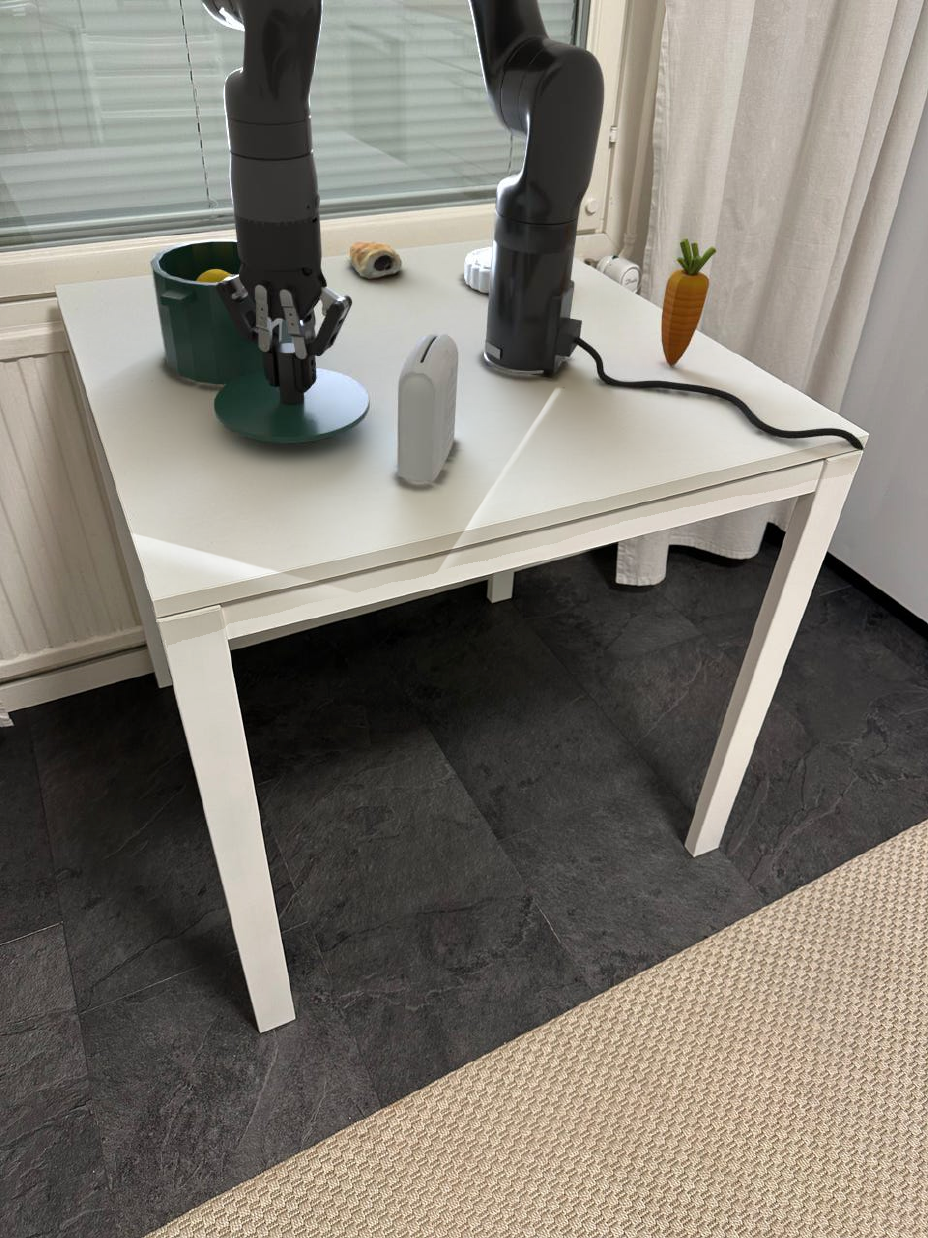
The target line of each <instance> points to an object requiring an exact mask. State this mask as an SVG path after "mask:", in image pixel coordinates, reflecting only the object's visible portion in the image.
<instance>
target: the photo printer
mask: <svg viewBox="0 0 928 1238" xmlns="http://www.w3.org/2000/svg"><path fill="white" fill-rule="evenodd" d="M404 361H405V362H404V363H403V366H402V368H401V371H400V374H399V378H398V385H397V386H398V387H397V451H396V452H397V453H396V455H397V457H396V458H397V462H396V463H397V467H396V468H397V469H396V470H397V477H398V478H399V477H400V478H402V479H404V480H405V481H409V482H412V483H427V482H430V483H431V482H434V481H435V480H436V479H437V478H438V476H439V475H440V473H441V471H442V469H443V467H444V465H445V463H446V461H447V459H448V456H449V455H450V452H451V449H452V447H453V445H454V441H455V429H456V408H457V389H458V372H459V371H458V370H459V348H458V345H457V344H456V341H455V340H454V339H453V338H452V336H451V335H449V334H448V333H442V334H441V333H437V332H431V333H428V334H426V335H424V336H423V337H421V338H420V339H419V340H418V341H417V342H416V344H415V345H414V346H413V347H412V348H411V350H410V351H409V354H408V355H407V357H406V359H405V360H404Z"/></svg>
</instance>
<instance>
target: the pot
mask: <svg viewBox="0 0 928 1238" xmlns="http://www.w3.org/2000/svg"><path fill="white" fill-rule="evenodd" d="M149 263H150V268H151V269H150V270H151V275H152V276H151V277H152V281H153V288H154V294H155V299H156V306H157V312H158V319H159V325H160V330H161V332H160V333H161V337H162V343H163V350H164V356H165V359H166V363H167V367H168V368H169V369H170V370H171V371H172V372H174V374H176V375H177V376H179V377H182V378H184V379H187V380H191V381H194V382H197V383H204V384H211V385H212V384H213V385H219V386H220V385H227V384H228V383H229V382H231V381H233V380H235V379H237V378H239V377H241V376H244V375H246V374H249V373H252V372H256V371H260V370H264V367H263V366H264V365H263V357H262V350H261V349H260V348H259V346H258V345H257V344H255V343H253V342H252V341H251V342H246V341H244V340H243V338H242V337H241V335H240V333H239V331H238V329H237V327H236V325H235V323H234V322H233V320H232V318H231V316H230V314H229V312H228V310H227V308H226V307H225V305H224V303H223V301H222V299H221V297H220V295H219V293H218V292H217V289H216V286H217V284H218V283H207V282H198V281H196V280H197V279H198V277H199V276H200V275H201V274H203V273H204V272H206V271H208V270H212V269H219V270H223V271H225V272H227V273H229V274H231V275H236V276H237V275H239V270H240V267H241V264H242V261H241V260H240V258H239V255H238V247H237V239H231V238H230V239H222V238H221V239H203V240H194V241H187V242H183V243H180V244H176V245H172V246H169V247H166V248H164V249H163V250H161V251H159V252H157V253H155V255H154V256H153V258H152V259H151V260H150V262H149ZM248 296H249V298H250V300H251V302H252V304H253V306H254V308H255V310H256V304H255V302H254V301H253V299H252V298H251V297H250V295H249V294H248ZM285 343H293V339H292V336H290V335H289V333H288V328H287V323H286V321H285V320H283V321H282V332H281V341H280V342H279V345H280V344H285Z"/></svg>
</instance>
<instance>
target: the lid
mask: <svg viewBox="0 0 928 1238" xmlns="http://www.w3.org/2000/svg"><path fill="white" fill-rule="evenodd" d="M295 357H296V354H295V349H294V344H293V343H285V344H280V345H278V346H277V347H276V358H277V368H278V379H279V387H273V386H270V385H269V380H267V379H266V377H265V375H264V370H260V371H256V372H252V373H249V374H246V375H244V376H241V377H239V378H237V379H235V380H233V381H231V382H229V383H228V384H224V385H223V386H222V387H221V389H220V390H219V391H218V392H217V393H216V396H215V398H214V401H213V409H214V414H215V415H214V416H215V417H216V419H217V420H218V422H219V423H220V424H221V425H222V426H223V427H225V428H226V429H227V430H229V431H231V432H233V433H234V434H237V435H240V436H242V437H243V438H244V437H245V438H247V439H252V440H257V441H261V442H267V443H276V444H277V443H281V444H297V443H307V442H308V443H309V442H315V441H320V440H325V439H328V438H332V437H335V436H338V435H340V434H343V433H346V432H347V431H349V430H351V429H353V428H354V427H356V426H358V425H359V424H360V423H361V422H362V421H364V419H365V418H366V416H367V415H368V413H369V411H370V406H371V405H370V401H371V400H370V395H369V393H368V391H367V389H366V388H365V387H364V385H362V384H361V383H360V382H359V381H358V380H356V379H354V378H353V377H351V376H350V375H349V376H348V375H347V374H344V373H341V372H338V371H335V370H330V369H326V368H320V367H316V374H317V379H316V382H315V383H314V384H313V385H312V387H311V388H310V389H309V390H308V391H306V392H305V393H302V392H297V389H296V378H295V365H294V358H295Z"/></svg>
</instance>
